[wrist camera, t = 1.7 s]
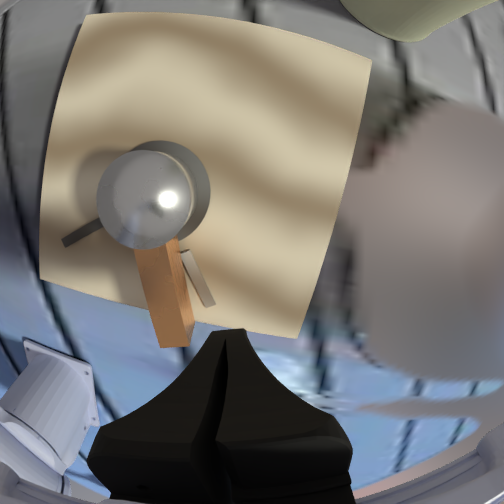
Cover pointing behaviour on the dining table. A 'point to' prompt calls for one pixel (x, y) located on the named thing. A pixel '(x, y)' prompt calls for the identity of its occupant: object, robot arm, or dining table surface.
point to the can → (409, 15)
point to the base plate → (206, 158)
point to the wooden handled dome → (153, 232)
